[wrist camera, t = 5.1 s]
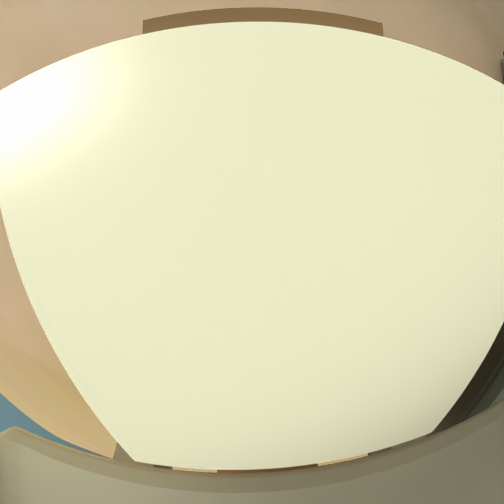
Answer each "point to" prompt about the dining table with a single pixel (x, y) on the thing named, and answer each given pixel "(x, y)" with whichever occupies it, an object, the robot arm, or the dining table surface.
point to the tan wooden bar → (261, 19)
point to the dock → (480, 383)
